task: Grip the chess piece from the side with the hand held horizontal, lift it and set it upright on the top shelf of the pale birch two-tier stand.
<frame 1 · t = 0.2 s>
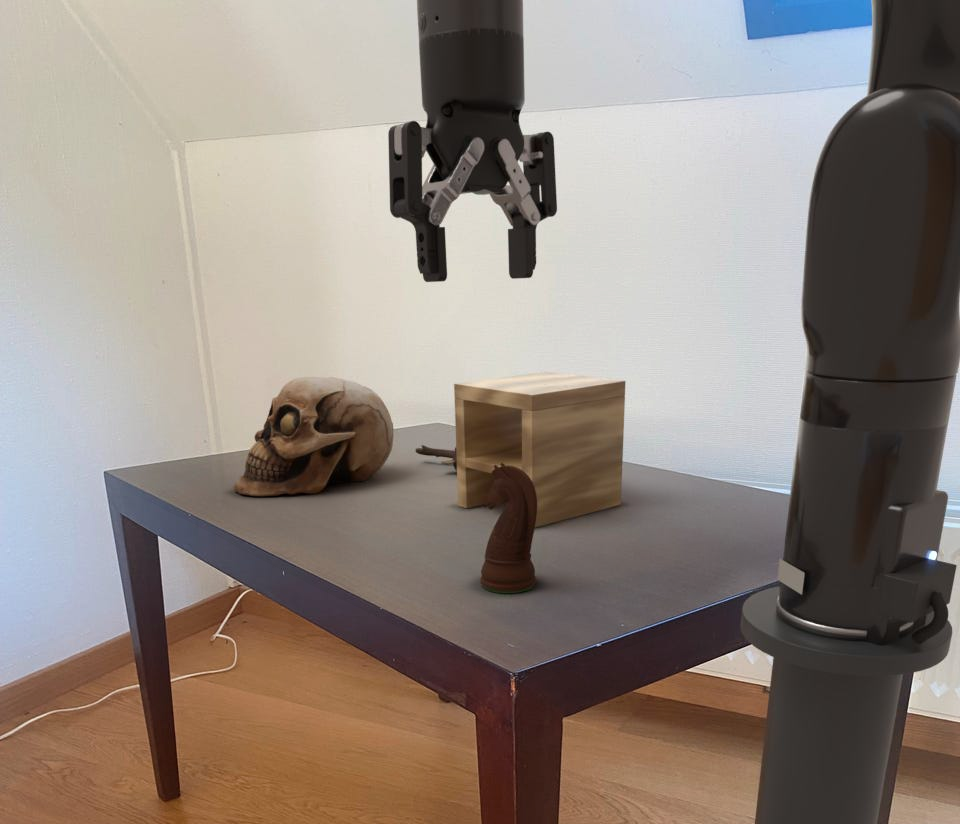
hand: (479, 279, 71), 24 cm above the table, tool pointing down, fingers open, 8 cm apart
stand: (539, 505, 99), on the table
chess piece: (510, 587, 76), on the table
tree branch: (485, 465, 119), on the table
tan skull: (316, 484, 112), on the table
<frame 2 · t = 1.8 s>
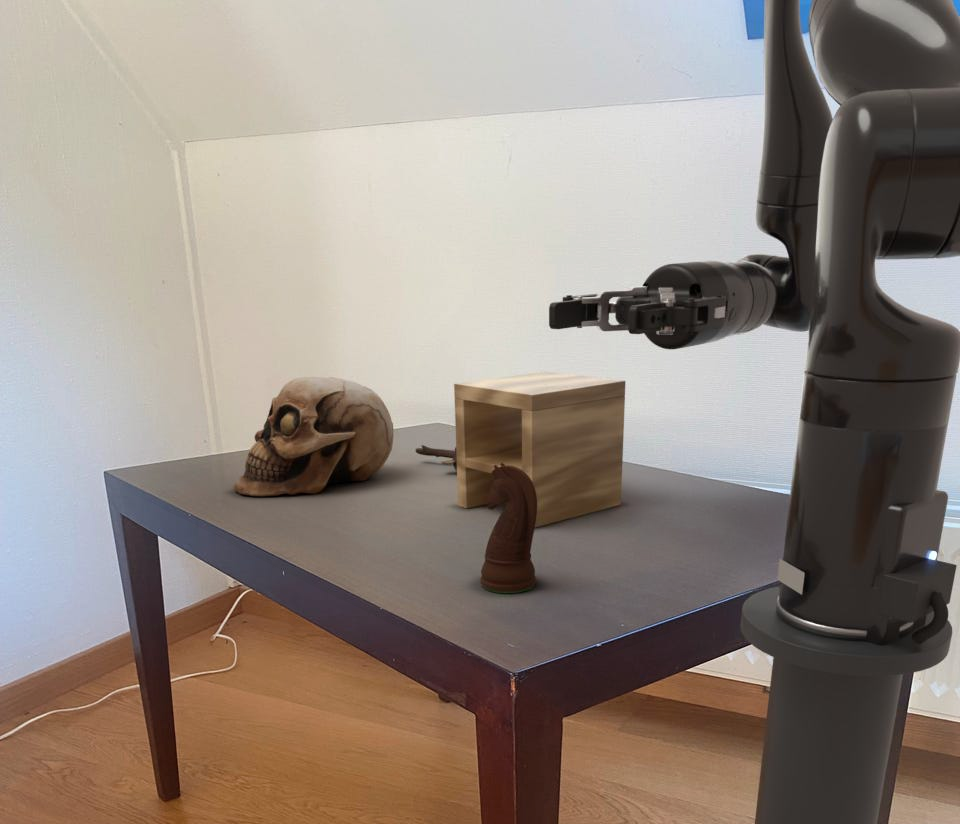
hand: (590, 318, 77), 20 cm above the table, tool horizontal, fingers open, 8 cm apart
nothing on the table moved.
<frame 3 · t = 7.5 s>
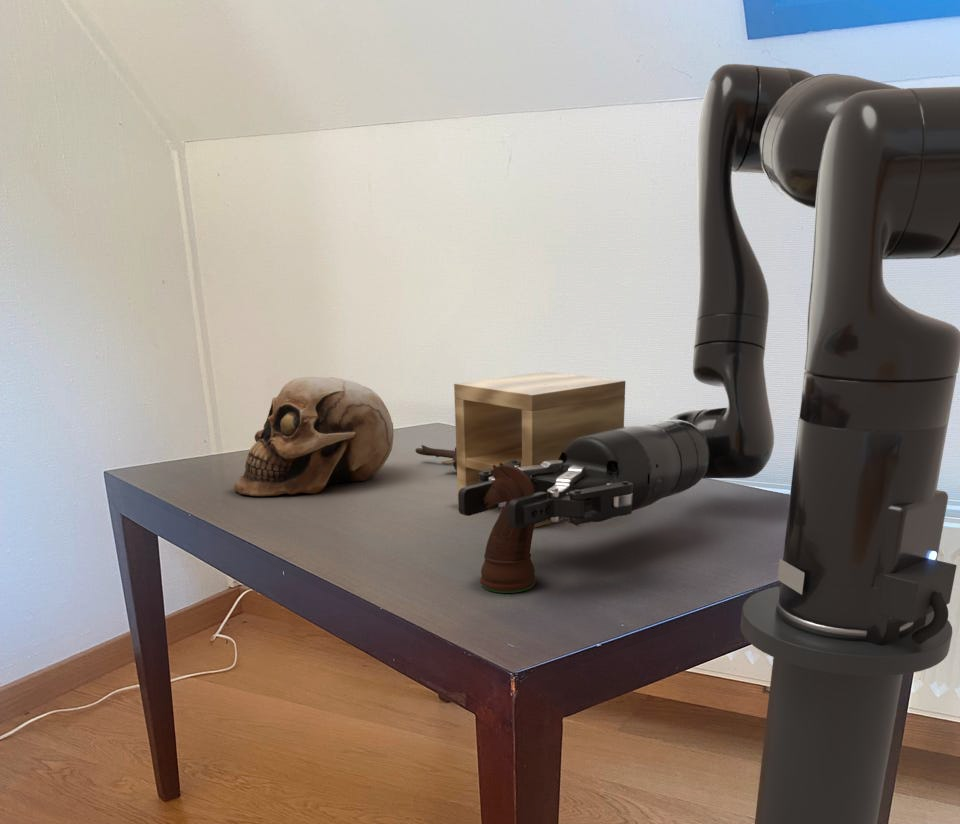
hand: (486, 508, 72), 7 cm above the table, tool horizontal, fingers closed on chess piece, 5 cm apart
chess piece: (510, 586, 76), on the table, touching gripper
everything else where it was.
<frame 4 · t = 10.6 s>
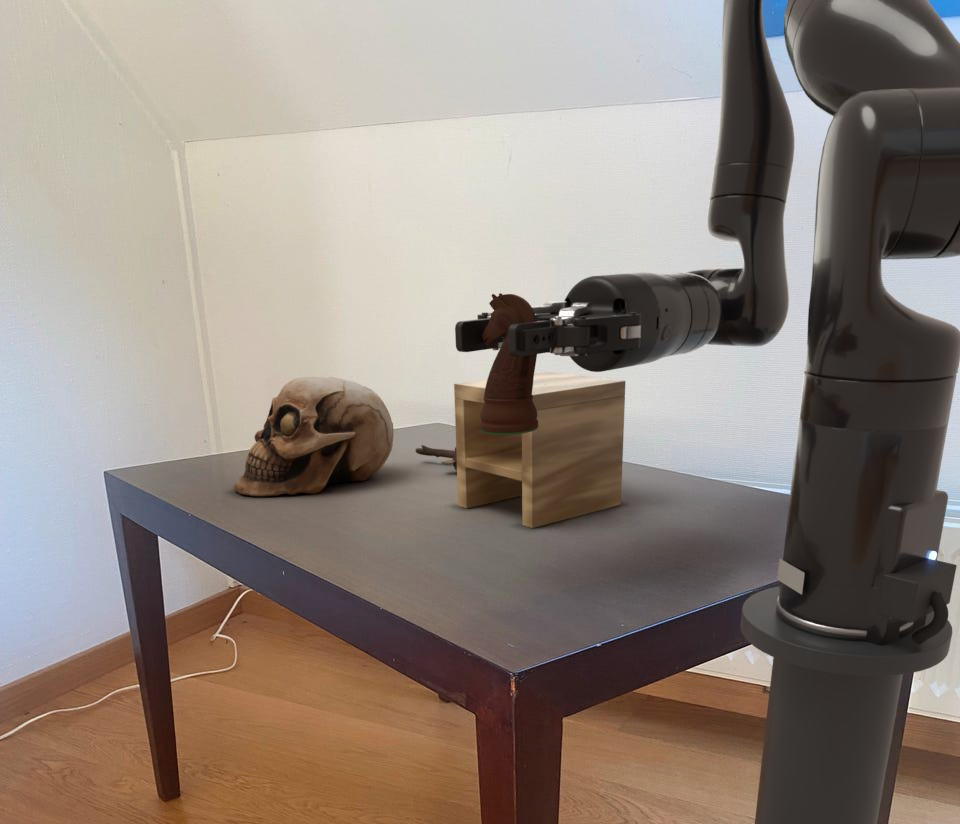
hand: (485, 339, 67), 20 cm above the table, tool horizontal, fingers closed on chess piece, 5 cm apart
chess piece: (511, 432, 72), point 13 cm above the table, touching gripper
everything else where it was.
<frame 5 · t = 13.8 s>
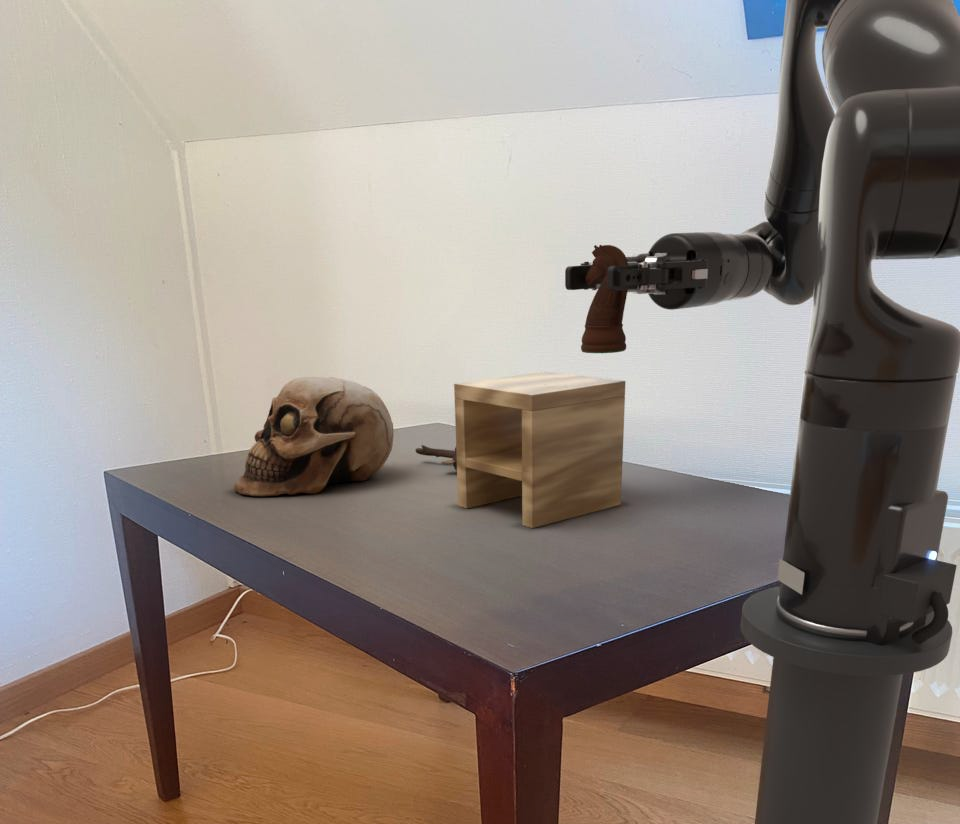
hand: (589, 278, 89), 23 cm above the table, tool horizontal, fingers closed on chess piece, 5 cm apart
chess piece: (605, 352, 93), point 16 cm above the table, touching gripper
everything else where it was.
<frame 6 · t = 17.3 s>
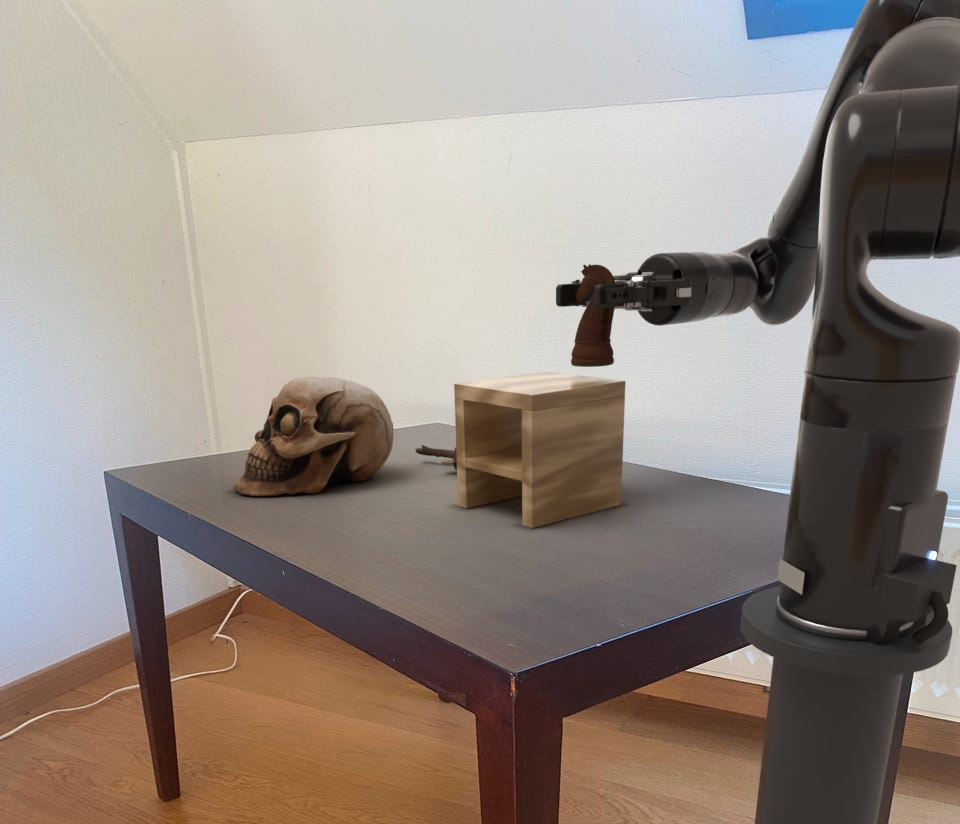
hand: (577, 296, 94), 21 cm above the table, tool horizontal, fingers closed on chess piece, 5 cm apart
chess piece: (594, 366, 98), point 14 cm above the table, touching gripper
everything else where it was.
when the fingers open (20 cm above the table, at t = 20.2 s): chess piece stays where it is, resting on stand.
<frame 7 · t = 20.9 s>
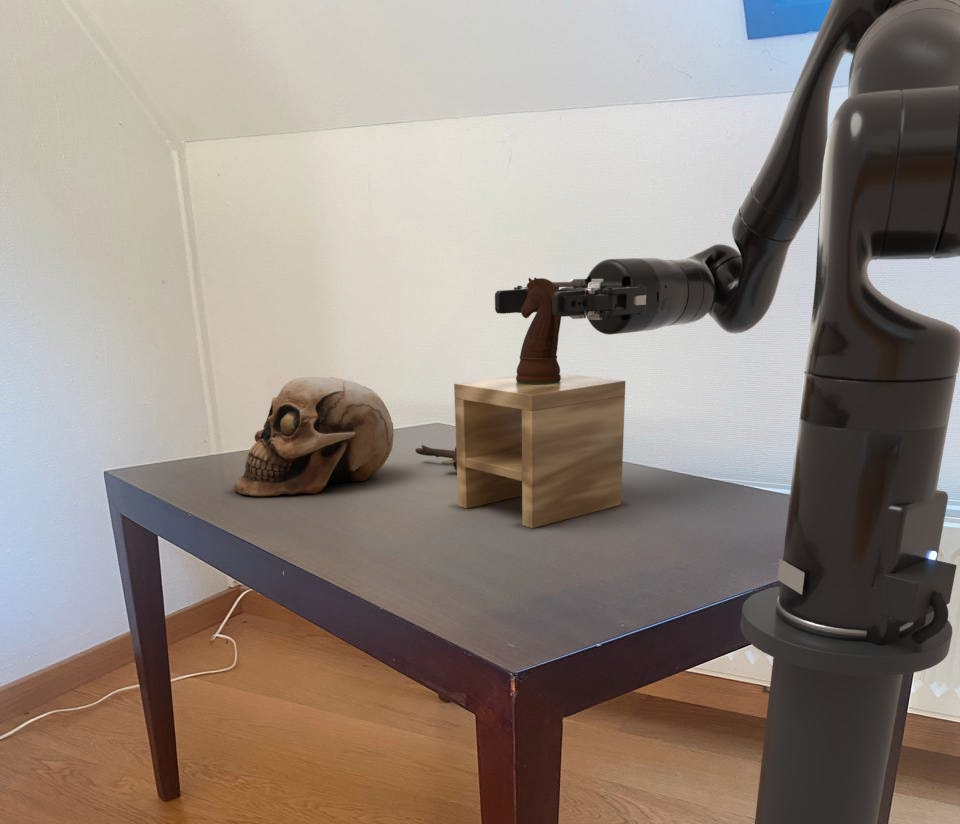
hand: (525, 303, 90), 21 cm above the table, tool horizontal, fingers open, 8 cm apart
chess piece: (540, 383, 94), point 13 cm above the table, touching stand
everything else where it was.
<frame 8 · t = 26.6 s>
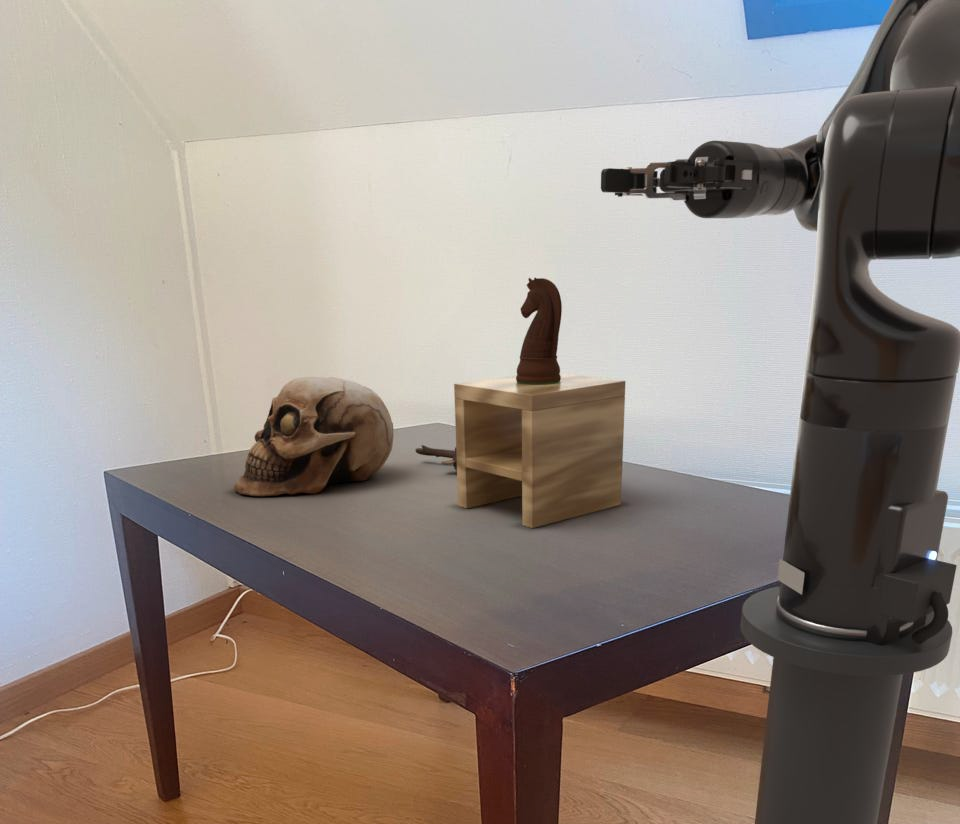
hand: (634, 177, 92), 32 cm above the table, tool horizontal, fingers open, 8 cm apart
nothing on the table moved.
at the end: chess piece inside the target area on the stand (0.1 cm from its centre), point 12.8 cm above the stand's base; chess piece tilted 0°; the gripper is holding nothing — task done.
